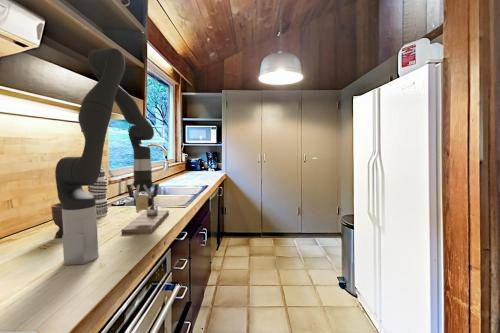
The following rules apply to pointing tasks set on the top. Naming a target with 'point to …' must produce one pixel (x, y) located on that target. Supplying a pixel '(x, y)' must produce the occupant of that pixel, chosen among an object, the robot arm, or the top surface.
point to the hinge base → (146, 221)
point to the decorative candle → (100, 194)
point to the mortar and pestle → (58, 218)
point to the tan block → (142, 202)
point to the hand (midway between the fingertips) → (143, 206)
